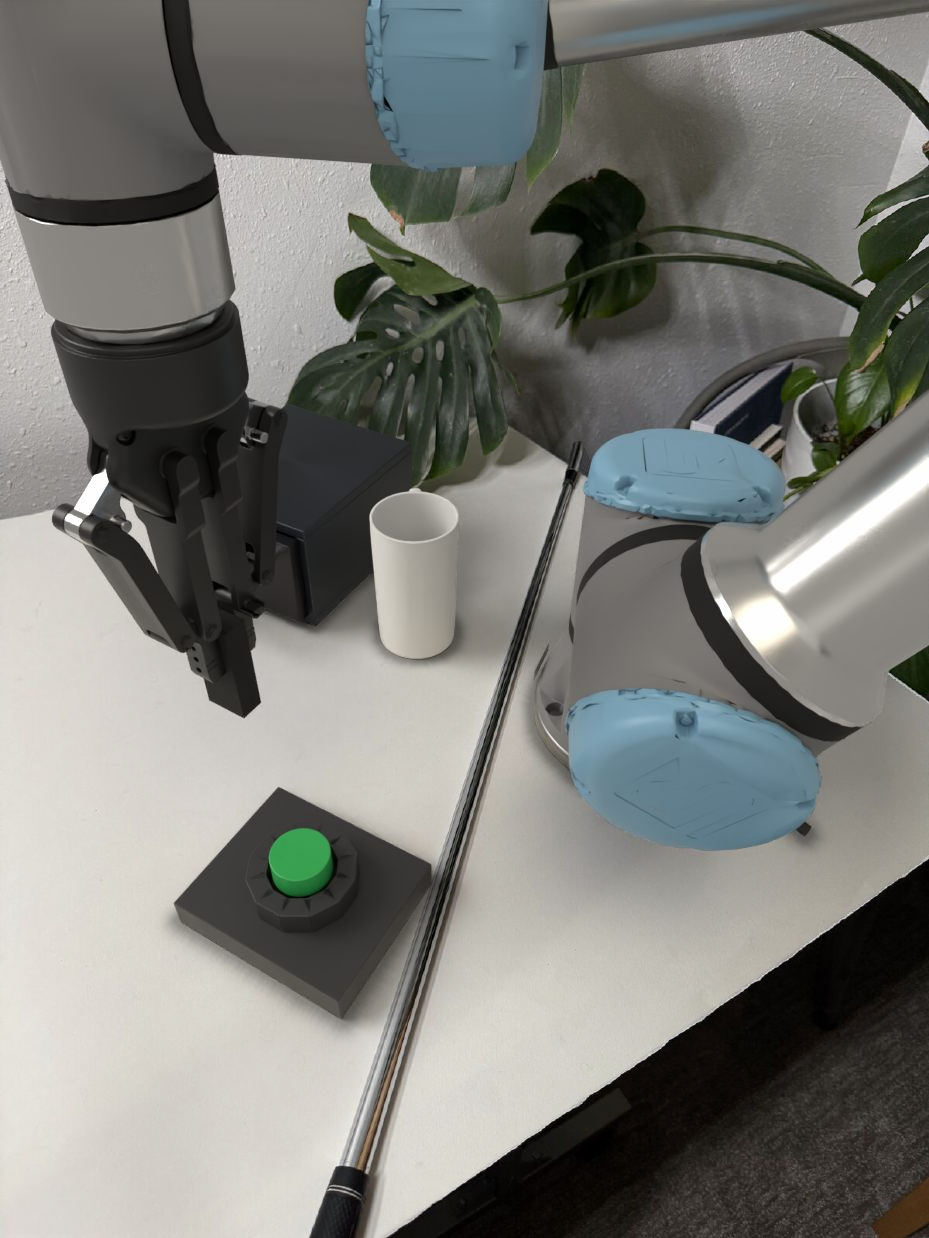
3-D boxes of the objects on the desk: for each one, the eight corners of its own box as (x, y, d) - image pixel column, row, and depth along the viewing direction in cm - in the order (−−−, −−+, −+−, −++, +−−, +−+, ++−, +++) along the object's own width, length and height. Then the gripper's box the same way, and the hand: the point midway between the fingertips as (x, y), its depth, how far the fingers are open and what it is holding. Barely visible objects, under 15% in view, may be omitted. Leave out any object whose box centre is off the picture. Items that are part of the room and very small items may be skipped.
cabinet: (315, 626, 74) (303, 532, 68) (191, 574, 79) (168, 481, 73) (413, 531, 85) (411, 442, 78) (298, 491, 90) (287, 403, 83)
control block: (431, 883, 56) (431, 847, 54) (341, 1019, 50) (335, 986, 47) (282, 806, 61) (275, 769, 58) (180, 922, 54) (166, 886, 51)
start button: (344, 860, 53) (342, 843, 52) (308, 907, 51) (305, 890, 50) (297, 835, 55) (294, 818, 53) (259, 879, 52) (255, 863, 51)
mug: (458, 662, 71) (460, 543, 63) (375, 662, 71) (367, 543, 63) (455, 583, 79) (457, 468, 71) (380, 584, 79) (373, 468, 71)
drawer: (266, 655, 70) (252, 578, 65) (148, 603, 75) (126, 527, 69) (394, 534, 83) (391, 461, 78) (287, 496, 87) (277, 425, 82)
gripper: (190, 243, 42) (260, 617, 57) (-58, 341, 33) (103, 748, 49) (315, 275, 39) (353, 659, 54) (79, 392, 30) (203, 806, 46)
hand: (235, 701), depth 52 cm, fingers closed
